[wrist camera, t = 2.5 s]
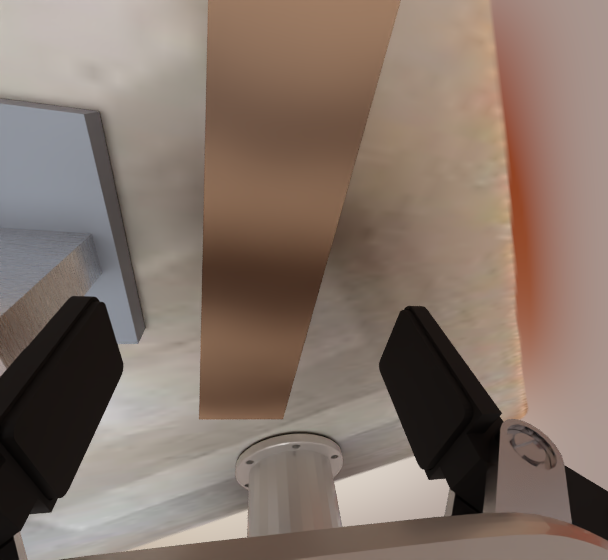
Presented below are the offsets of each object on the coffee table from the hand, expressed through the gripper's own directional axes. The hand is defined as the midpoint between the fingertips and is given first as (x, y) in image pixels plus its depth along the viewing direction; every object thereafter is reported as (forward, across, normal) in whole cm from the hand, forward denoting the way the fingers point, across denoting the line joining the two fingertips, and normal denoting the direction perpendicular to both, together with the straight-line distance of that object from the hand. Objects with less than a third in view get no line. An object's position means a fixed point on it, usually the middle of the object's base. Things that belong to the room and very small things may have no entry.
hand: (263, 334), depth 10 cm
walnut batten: (+10, 0, 0) cm, 10 cm away
